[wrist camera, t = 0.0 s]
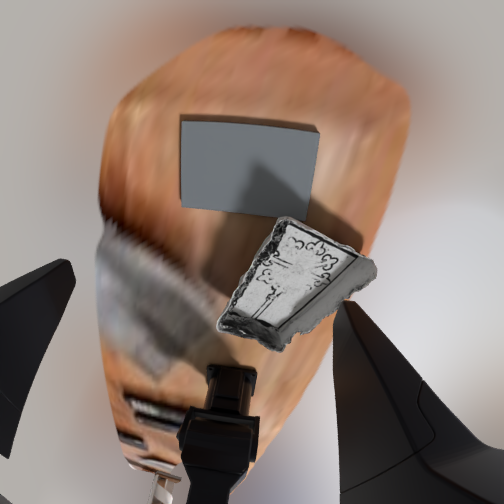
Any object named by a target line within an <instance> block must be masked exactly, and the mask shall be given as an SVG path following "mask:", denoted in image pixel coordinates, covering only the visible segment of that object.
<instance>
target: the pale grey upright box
mask: <svg viewBox="0 0 504 504" xmlns="http://www.w3.org/2000/svg"><path fill="white" fill-rule="evenodd" d="M180 481H181V477H178V476H174V475H171V474H168V473H164V472H161V471H157V472H156V473H155V476H154V480H153V484H152V488H151V491H150V495H149V499H148V503H147V504H172V499H173V497H172V495H171V494H172V490H173V486H174V483H178V482H180Z"/></svg>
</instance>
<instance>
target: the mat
mask: <svg viewBox="0 0 504 504" xmlns="http://www.w3.org/2000/svg"><path fill="white" fill-rule="evenodd" d="M319 138H320V133H318V132H312V131H306V130H299V129H292V128H284V127H276V126H267V125H257V124H246V123H232V122H215V121H182V131H181V202H182V207H186V208H196V209H206V210H216V211H226V212H235V213H244V214H252V215H261V216H269V217H277V218H279V217H284V216H287V217H291V218H293V219H295V220H300V221H306V216H307V211H308V205H309V199H310V194H311V188H312V182H313V176H314V170H315V164H316V158H317V151H318V145H319Z"/></svg>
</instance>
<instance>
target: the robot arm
mask: <svg viewBox="0 0 504 504" xmlns="http://www.w3.org/2000/svg"><path fill="white" fill-rule="evenodd" d="M75 284H76V278H75V275H74V272H73V268H72V265H71V263H70V261H68V260H66V259H57V260H55V261H53V262H51V263H49V264H46V265H44V266H42V267H40V268H38V269H36V270H34V271H32V272H29V273H27V274H25V275H23V276H21V277H19V278H17V279H15V280H13V281H11V282H9V283H7V284H5V285H3V286H1V287H0V454H1V455H2V456H4V457H5V458H7V459H9V457H10V453H11V449H12V445H13V441H14V437H15V434H16V431H17V427H18V424H19V421H20V417H21V414H22V411H23V407H24V405H25V402H26V399H27V396H28V393H29V391H30V388H31V386H32V383H33V380H34V378H35V375H36V373H37V371H38V368H39V366H40V363H41V361H42V358H43V356H44V354H45V352H46V350H47V348H48V345H49V343H50V341H51V339H52V337H53V335H54V332H55V331H56V329H57V326H58V325H59V322H60V320H61V318H62V315H63V313H64V311H65V308H66V306H67V303H68V301H69V299H70V296H71V294H72V291H73V289H74V287H75ZM207 379H208V391H207V396H206V400H205V404H204V408H203V409H201V408H196V407H194V406H190V409H189V410H188V411H186V415H185V419H184V422H183V424H182V426H181V427H180V429H179V431H178V433H177V436H176V438H177V439H178V440H179V449H180V450H181V451H182V453H181V459H182V462H183V464H184V467H185V470H186V472H187V475H188V477H189V479H190V482H191V485H190V489H189V493H188V498H187V503H186V504H228V500H229V494H230V493H231V492H232V491H233V490H234V489H235V488H236V487H237V486H238V485H239V484H240V483H241V482H242V481H243V480H244V478H245V477H246V474H247V471H248V468H249V462H255V460H256V455H257V448H258V438H259V423H260V416H255V417H254V416H249V408H250V400H251V397H252V396H253V395H254V390H255V384H256V379H257V372H256V371H251V370H244V369H236V368H229V367H223V366H217V365H208V366H207ZM333 379H334V389H335V400H336V414H337V428H338V445H339V468H340V469H339V472H340V504H504V450H502V449H497V448H493V447H490V446H488V445H486V444H484V443H482V442H481V441H480V440H479V439H477V438H476V437H475V436H474V435H473V434H472V432H471V431H470V430H469V429H468V428H467V427H466V426H465V425H464V424H463V423H462V422H461V421H460V420H459V419H458V418H457V417H456V416H455V415H454V414H453V413H452V412H451V411H450V409H449V408H448V407H447V406H446V405H445V404H444V403H443V402H442V401H441V400H440V399H439V397H438V396H437V395H436V394H435V393H434V392H433V390H432V389H431V388H430V387H429V386H428V384H427V383H426V382H425V381H424V380H422V377H421V376H420V375H419V374H418V373H417V371H416V370H415V369H414V368H413V366H412V365H411V364H410V363H409V362H408V361H407V359H406V358H405V357H404V356H403V355H402V354H401V352H400V351H399V350H398V349H397V348H396V347H395V345H394V344H393V343H392V342H391V341H390V340H389V339H388V337H387V336H386V335H385V334H384V333H383V332H382V331H381V330H380V328H379V327H378V326H377V325H376V324H375V323H374V322H373V320H372V319H371V318H370V317H369V316H368V315H367V314H366V313H365V312H364V310H363V309H362V308H361V307H360V306H359V305H358V304H357V303H356V302H355V301H347V300H343V301H342V302H341V303H340V306H339V308H338V311H337V314H336V316H335V319H334V323H333ZM0 504H12V503H11V502H9V501H8V500H7V499H6V498H5V497H3V496H2V495H1V494H0Z"/></svg>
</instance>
